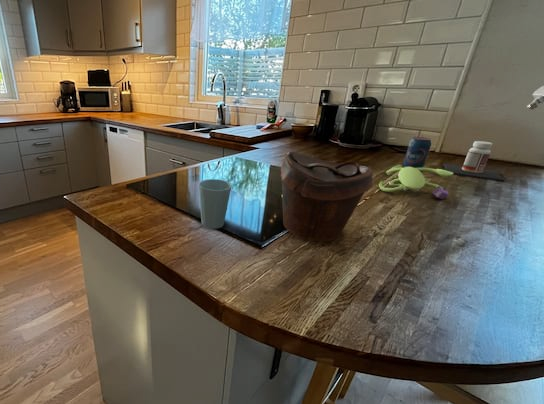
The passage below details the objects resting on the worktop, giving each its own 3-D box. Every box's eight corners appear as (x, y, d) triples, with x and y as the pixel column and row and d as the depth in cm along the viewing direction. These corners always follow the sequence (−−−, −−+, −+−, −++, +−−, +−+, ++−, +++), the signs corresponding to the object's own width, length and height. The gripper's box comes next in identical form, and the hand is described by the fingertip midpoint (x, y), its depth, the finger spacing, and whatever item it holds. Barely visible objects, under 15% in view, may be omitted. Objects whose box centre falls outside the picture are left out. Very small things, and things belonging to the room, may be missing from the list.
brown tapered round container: (377, 245, 65) (402, 167, 58) (292, 252, 62) (308, 170, 55) (328, 211, 81) (343, 146, 74) (259, 215, 78) (267, 148, 71)
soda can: (402, 167, 121) (411, 138, 117) (402, 164, 127) (411, 135, 122) (423, 171, 118) (433, 140, 113) (422, 167, 123) (432, 138, 118)
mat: (495, 172, 118) (495, 170, 118) (503, 181, 107) (504, 179, 107) (443, 165, 126) (444, 163, 126) (446, 173, 116) (447, 171, 116)
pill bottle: (479, 170, 118) (491, 141, 113) (484, 174, 113) (497, 144, 108) (459, 167, 120) (470, 140, 116) (463, 171, 115) (475, 142, 111)
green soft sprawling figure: (448, 183, 105) (454, 167, 103) (449, 206, 86) (456, 188, 83) (387, 172, 115) (391, 158, 113) (375, 191, 96) (380, 174, 94)
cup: (202, 232, 69) (204, 191, 65) (193, 218, 76) (194, 180, 72) (232, 229, 71) (236, 188, 67) (221, 215, 78) (224, 178, 74)
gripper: (629, 88, 90) (572, 120, 96) (567, 86, 108) (522, 112, 114) (619, 72, 89) (562, 105, 95) (558, 72, 107) (513, 100, 113)
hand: (539, 109), depth 105 cm, fingers open, 8 cm apart
